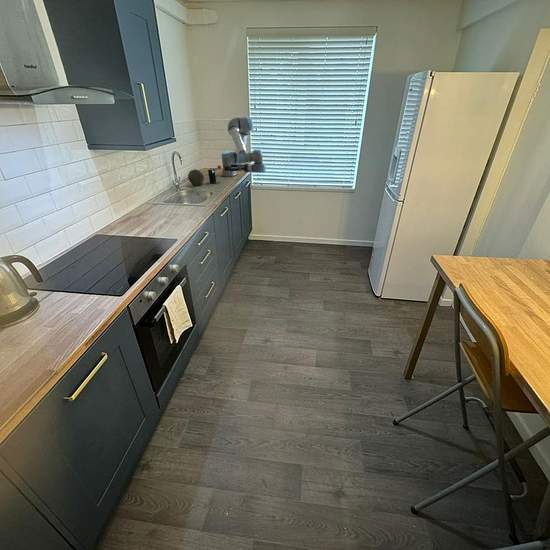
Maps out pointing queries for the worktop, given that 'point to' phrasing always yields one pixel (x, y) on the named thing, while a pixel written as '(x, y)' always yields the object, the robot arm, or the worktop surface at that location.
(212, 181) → the switch bracket
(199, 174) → the cantaloupe
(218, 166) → the lever
